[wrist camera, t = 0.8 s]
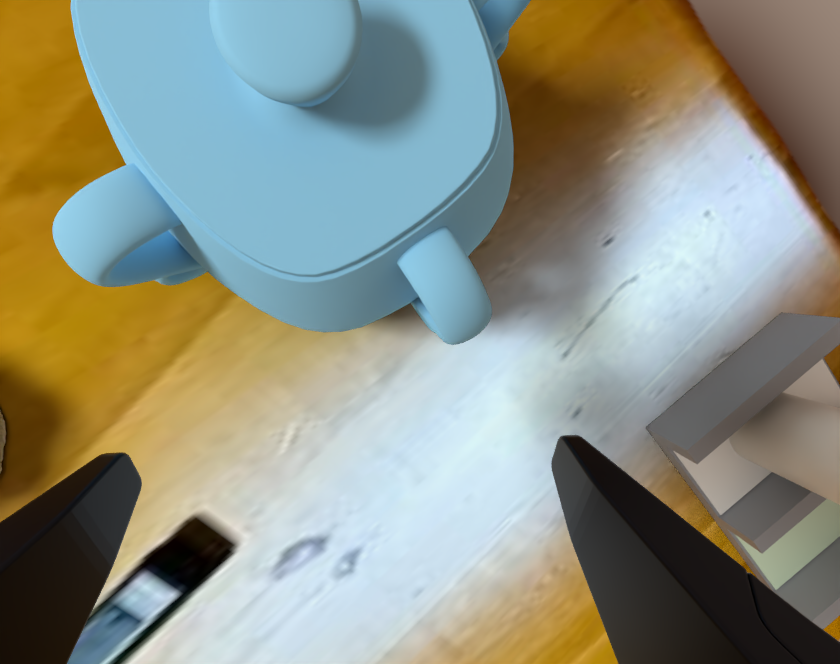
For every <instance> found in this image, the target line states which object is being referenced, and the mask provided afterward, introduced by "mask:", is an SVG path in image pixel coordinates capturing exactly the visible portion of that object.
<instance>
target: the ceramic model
mask: <svg viewBox="0 0 840 664" xmlns="http://www.w3.org/2000/svg"><path fill="white" fill-rule="evenodd" d="M6 433H7V432H6V430H5V421H4V419H3V415H2V414H1V410H0V473H1V471H2V467H1V466H2V463H1V461H2V460H3V447H4V445H5V442H6V440H5V435H6Z"/></svg>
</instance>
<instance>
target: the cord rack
mask: <svg viewBox="0 0 840 664" xmlns="http://www.w3.org/2000/svg"><path fill="white" fill-rule="evenodd" d="M839 344H840V318H835V317H824V316H813V315H802V314H791V313H781V314H779V315H778V316H777V317H776V318H775V319H773V320H772V321H771V322H770V323H769V324H768V325H766V326H765V327H764V328H763V329H762V330H760V331H759V332H758V333H757V334H756V335H755V336H753V337H752V338H751V339H750V340H749V341H747V342H746V343H745V344H744V345H743V346H742V347H740V348H739V349H738V350H737V351H736V352H734V353H733V354H732V355H731V356H730V357H729V358H727V359H726V360H725V361H724V362H723V363H721V364H720V365H719V366H718V367H717V368H716V369H714V370H713V371H712V372H711V373H710V374H708V375H707V376H706V377H705V378H704V379H703V380H701V381H700V382H699V383H698V384H697V385H695V386H694V387H693V388H692V389H691V390H690V391H688V392H687V393H686V394H685V395H684V396H682V397H681V398H680V399H679V400H678V401H677V402H675V403H674V404H673V405H672V406H671V407H669V408H668V409H667V410H666V411H665V412H664V413H662V414H661V415H660V416H659V417H658V418H656V419H655V420H654V421H653V422H652V423H651V424H649V425H648V426H647V427H646V429H647V430H648V431H649V433H650V434H651V435H652V437H653V438H654V439H655V441H656V442H657V443H658V445H659V446H660V447H661V449H662V450H663V451H664V453H665V454H666V455H667V457H668V458H669V460H670V461H671V462H672V464H673V465H674V466H675V468H676V469H677V470H678V472H679V473H680V474H681V476H682V477H683V478H684V480H685V481H686V482H687V484H688V485H689V486H690V488H691V489H692V490H693V492H694V493H695V494H696V496H697V497H698V498H699V500H700V501H701V503H702V504H703V505H704V507H705V508H706V509H707V511H708V512H709V513H710V515H711V516H712V517H713V519H714V520H715V521H716V523H717V524H718V525H719V527H720V528H721V529H722V531H723V532H724V533H725V535H726V536H727V537H728V539H729V540H730V541H731V543H732V544H733V546H734V547H735V548H736V550H737V551H738V552H739V554H740V555H741V556H742V558H743V559H744V560H745V562H746V563H747V564H748V566H749V567H750V568H751V570H752V571H753V572H754V574H755V575H756V576H757V578H758V579H759V580H760V581H761V582H762V583H764V584H765V585H766V586H767V587H768V588H770V589H771V590H772V591H773V592H775V593H776V594H777V595H779V596H780V597H781V598H782V599H784V600H785V601H786V602H787V603H789V604H790V605H791V606H793V607H794V608H795V609H796V610H798V611H799V612H800V613H802V614H803V615H804V616H805V617H807V618H808V619H809V620H810V621H812V622H813V623H815V624H816V625H817V626H819V627H820V628H821V629H824V628H825V627H826V626H828V625H829V624H830V623H831V622H832V621H834V620H835V619H836V618H837V617H838V616H839V615H840V505H839V504H837V503H835V502H833V501H831V500H828V499H826V498H824V497H822V496H820V495H818V494H816V493H814V492H812V491H810V490H808V489H806V488H804V487H802V486H800V485H798V484H796V483H794V482H792V481H790V480H788V479H786V478H784V477H781V476H779V475H777V474H775V473H773V472H771V471H769V470H767V469H765V468H763V467H761V466H759V465H757V464H755V463H753V462H751V461H749V460H747V459H745V458H743V457H741V456H740V455H738V454H737V453H736V452H735V450H734V449H733V447H732V445H731V443H730V439H729V437H730V436H731V435H733V434H734V433H735V432H736V431H737V430H739V429H740V428H741V427H742V426H743V425H744V424H746V423H747V422H748V421H749V420H750V419H752V418H753V417H754V416H755V415H756V414H757V413H759V412H760V411H761V410H762V409H763V408H765V407H766V406H767V405H768V404H769V403H770V402H772V401H773V400H774V399H775V398H776V397H778V396H779V395H780V394H781V393H782V392H784V393H787V394H791V395H794V396H798V397H801V398H805V399H809V400H812V401H816V402H819V403H823V404H826V405H830V406H833V407H837V408H840V385H839V383H838V382H837V380H836V378H835V376H834V375H833V373H832V371H831V370H830V368H829V366H828V365H827V363H826V361H825V360H824V357H825V356H826V355H827V354H828V353H830V352H831V351H832V350H833V349H834V348H835V347H837V346H838V345H839Z"/></svg>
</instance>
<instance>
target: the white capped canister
mask: <svg viewBox="0 0 840 664" xmlns="http://www.w3.org/2000/svg"><path fill="white" fill-rule="evenodd" d="M729 439H730V443H731V445H732V447H733V449H734V450H735V452H736V453H737V454H738V455H740V456H741V457H743V458H745V459H747V460H749V461H751V462H753V463H755V464H757V465H759V466H761V467H763V468H765V469H767V470H769V471H771V472H773V473H775V474H777V475H779V476H781V477H784V478H786V479H788V480H790V481H792V482H794V483H796V484H798V485H800V486H802V487H804V488H806V489H808V490H810V491H812V492H814V493H816V494H818V495H820V496H822V497H824V498H826V499H828V500H831V501H833V502H835V503H837V504H839V505H840V408H837V407H833V406H830V405H826V404H823V403H819V402H816V401H812V400H809V399H805V398H801V397H798V396H794V395H791V394H787V393H784V392H782V393H781V394H780V395H779V396H778V397H776V398H775V399H774V400H773V401H772V402H770V403H769V404H768V405H767V406H766V407H765V408H763V409H762V410H761V411H760V412H759V413H757V414H756V415H755V416H754V417H753V418H752V419H750V420H749V421H748V422H747V423H746V424H744V425H743V426H742V427H741V428H740V429H739V430H737V431H736V432H735V433H734V434H733V435H731V436H730V437H729Z"/></svg>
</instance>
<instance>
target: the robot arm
mask: <svg viewBox="0 0 840 664" xmlns="http://www.w3.org/2000/svg"><path fill="white" fill-rule="evenodd" d="M552 472H553V476H554V480H555V483H556V487H557V491H558V494H559V498H560V502H561V505H562V509H563V513H564V516H565V520H566V524H567V527H568V531H569V534H570V538H571V541H572V543H573V546H574V549H575V552H576V554H577V557H578V560H579V562H580V565H581V567H582V570H583V573H584V575H585V578H586V580H587V583H588V586H589V588H590V591H591V593H592V596H593V599H594V601H595V604H596V606H597V609H598V612H599V614H600V617H601V619H602V622H603V625H604V627H605V630H606V632H607V635H608V638H609V640H610V643H611V645H612V648H613V651H614V653H615V656H616V658H617V661H618V664H840V642H839V641H837V640H836V639H835V638H833V637H832V636H831V635H829V634H828V633H827V632H825V631H824V630H823V629H821V628H820V627H819V626H817V625H816V624H815V623H813V622H812V621H810V620H809V619H808V618H807V617H805V616H804V615H803V614H802V613H800V612H799V611H798V610H796V609H795V608H794V607H793V606H791V605H790V604H789V603H787V602H786V601H785V600H784V599H782V598H781V597H780V596H779V595H777V594H776V593H775V592H773V591H772V590H771V589H770V588H768V587H767V586H766V585H765V584H764V583H762V582H761V581H760V580H759V579H757V578H756V577H755V576H754V575H752V574H751V573H747V571H746V569H745V568H743V567H742V566H741V565H740V564H738V563H737V562H736V561H735V560H734V559H732V558H731V557H730V556H729V555H727V554H726V553H725V552H724V551H722V550H721V549H720V548H719V547H717V546H716V545H715V544H714V543H712V542H711V541H710V540H709V539H707V538H706V537H705V536H704V535H703V534H701V533H700V532H699V531H698V530H696V529H695V528H694V527H693V526H691V525H690V524H689V523H688V522H686V521H685V520H684V519H683V518H681V517H680V516H679V515H678V514H676V513H675V512H674V511H673V510H672V509H670V508H669V507H668V506H667V505H665V504H664V503H663V502H662V501H660V500H659V499H658V498H657V497H655V496H654V495H653V494H652V493H650V492H649V491H648V490H647V489H645V488H644V487H643V486H642V485H641V484H639V483H638V482H637V481H636V480H634V479H633V478H632V477H631V476H629V475H628V474H627V473H626V472H624V471H623V470H622V469H621V468H619V467H618V466H617V465H616V464H614V463H613V462H612V461H611V460H610V459H608V458H607V457H606V456H605V455H603V454H602V453H601V452H600V451H598V450H597V449H596V448H595V447H593V446H592V445H591V444H590V443H588V442H587V441H586V440H585V439H583V438H582V437H580V436H578V435H565V436H561V437H560V438H559V439H558V442H557V445H556V448H555V452H554V455H553V458H552ZM141 486H142V482H141V477H140V475H139V473H138V471H137V470H136V468H135V466H134V464H133V462H132V460H131V458H130V457H129V455H128V454H126V453H105V454H101V455H99V456H98V457H96V458H95V459H93V460H92V461H90V462H89V463H87V464H86V465H84V466H83V467H81V468H80V469H78V470H77V471H75V472H74V473H72V474H71V475H70V476H68V477H67V478H65V479H64V480H62V481H61V482H59V483H58V484H56V485H55V486H53V487H52V488H50V489H49V490H47V491H46V492H44V493H43V494H42V495H40V496H39V497H37V498H36V499H34V500H33V501H31V502H30V503H28V504H27V505H25V506H24V507H22V508H21V509H19V510H18V511H16V512H15V513H14V514H12V515H11V516H9V517H8V518H6V519H5V520H3V521H2V522H0V664H67V662H68V660H69V658H70V656H71V654H72V652H73V650H74V647H75V645H76V643H77V641H78V639H79V637H80V635H81V633H82V631H83V629H84V626H85V624H86V622H87V620H88V618H89V616H90V614H91V612H92V610H93V608H94V605H95V603H96V601H97V599H98V597H99V595H100V593H101V591H102V589H103V587H104V585H105V582H106V580H107V578H108V576H109V574H110V571H111V569H112V567H113V564H114V562H115V559H116V557H117V554H118V552H119V549H120V546H121V543H122V540H123V538H124V535H125V532H126V529H127V527H128V524H129V521H130V518H131V516H132V513H133V510H134V507H135V505H136V502H137V499H138V496H139V494H140V490H141Z"/></svg>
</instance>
